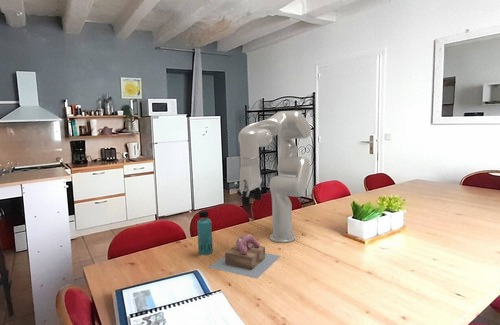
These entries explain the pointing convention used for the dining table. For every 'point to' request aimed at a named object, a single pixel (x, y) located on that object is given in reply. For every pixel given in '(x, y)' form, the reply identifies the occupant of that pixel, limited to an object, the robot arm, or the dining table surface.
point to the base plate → (246, 272)
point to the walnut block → (245, 257)
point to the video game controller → (248, 240)
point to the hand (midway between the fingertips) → (252, 202)
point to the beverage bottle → (204, 234)
